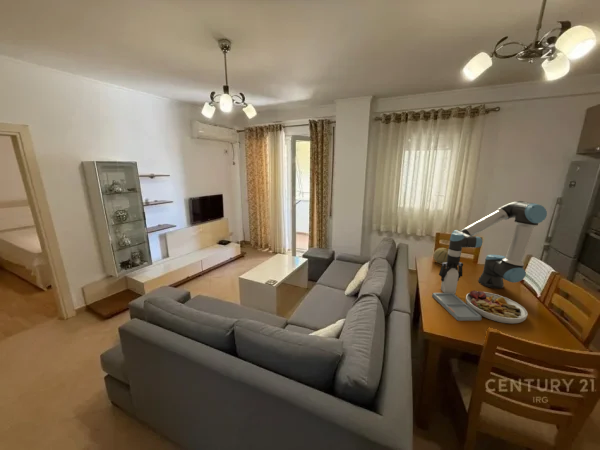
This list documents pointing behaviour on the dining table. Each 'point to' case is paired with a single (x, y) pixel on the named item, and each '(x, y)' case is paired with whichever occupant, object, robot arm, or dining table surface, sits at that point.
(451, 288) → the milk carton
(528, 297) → the dining table surface
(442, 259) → the cantaloupe
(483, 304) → the plate of food
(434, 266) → the dining table surface
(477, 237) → the robot arm
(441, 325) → the dining table surface
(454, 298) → the divided tray
